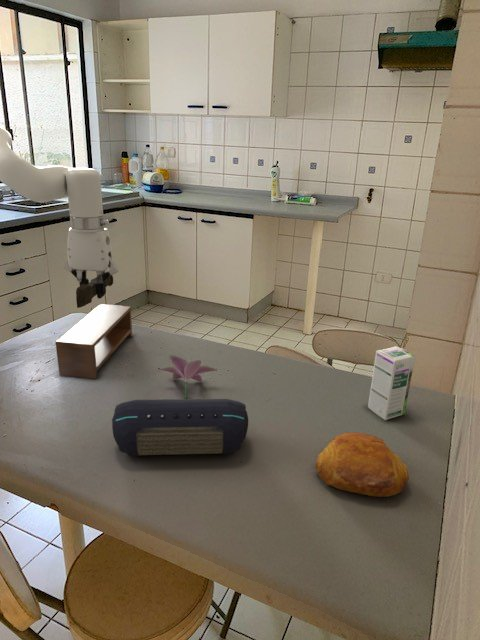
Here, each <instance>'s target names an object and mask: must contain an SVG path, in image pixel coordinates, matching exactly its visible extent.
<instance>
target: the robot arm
mask: <svg viewBox="0 0 480 640" xmlns="http://www.w3.org/2000/svg"><path fill="white" fill-rule="evenodd" d="M12 145H13V137H12V135H11V133H10V132H9V131H8V130H6V129H5V128H4V127H2V126H0V182H1V183H2V184H4V185H5V186H6V187H8V188H9V189H11V190H12V191H14V192H15V193H17V194H19V195H20V196H22V197H24V198H25V199H27V200H29V201H31V202H34V203H40V204H41V203H42V204H44V203H48V202H52V201H55V200H61V199H64V198H67V200H68V211H69V221H70V227H69V228H68V232H67V247H66V251H67V260H66V263H65V264H64V268H63V269H64V270H65V271H67V272H69V273H70V274H72V276H74V277H75V279H76V281H77V282H78V284H79V287H80V286H81V285H82V284H88V283H90V280H89V278H87V271H90V272H95V274H96V277H97V278H98V283H97V284H96V288H97V295H96V297H97V299H99V300H100V299H102V298H103V297H104V296H105V295H106V292H107V287H106V285H105V281H106V280H107V279H108V278H109V277H110V276H111V275H112V276H113V275H115V274H117V273H118V272H119V268H118V267H117V265H116V264H115V258H114V251H113V244H112V240H111V236H110V233H109V229H108V228H107V227H106V226H109V225H110V220H109V219H106V218H105V215H104V206H103V205H104V204H103V193H102V192H103V191H102V180H101V173H100V171H98V170H97V169H95V168H89V167H69V166H65V165H64V166H63V165H58V164H57V165H55V164H54V165H53V164H52V165H45V166H36V165H34V164H32V163H31V162H29V161H28V160H26V159H25V158H23V157H22V156H20V155H19V154H17V152H15V151H14V149H12ZM108 269H109V270H108ZM107 270H108V271H107Z"/></svg>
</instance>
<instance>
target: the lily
mask: <svg viewBox="0 0 480 640" xmlns="http://www.w3.org/2000/svg"><path fill="white" fill-rule="evenodd" d="M168 357H169V360H170V363H171V365H172V366H167V367H161V368H159V371H163V372H167V373H171V374H172V379H173V380H176V381H177V380H180V379H183V380H185V381H184V399H187V382H188V380H189V379H191V380H194V381H197V382H199V383H202V382H203V378H202V376H201V374H205V373H210V372H216V371H218V368H215V367H213V366H208V365H202V360H201V359H197V360H192V361H187V360H186V359H185V358H182V357H180V356H177V355H175V354H174V355H173V354H169V356H168Z"/></svg>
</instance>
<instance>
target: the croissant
mask: <svg viewBox="0 0 480 640" xmlns="http://www.w3.org/2000/svg"><path fill="white" fill-rule="evenodd" d="M314 466H315V467H314V468H315V470H316V471H317V473H318V476H319V478H320V479H321V481H323V482H324V483H325V484H326V485H327V486H330V487H333V488H336V489H338V490H342V491H346V492H349V493H353V494H360V495H365V496H369V497H377V498H378V497H379V498H381V497H386V498H387V497H391V496H396V495H397V494H399V493H401V492H402V491H403V490H404V487H405V485H407V484H408V481H409V479H410V478H409V477H410V476H409V471H408V468H407V464H405V463H404V462H403V461H402V459H401V457H400V456H399V455H398V454H396V453H394V452H393V451H392V449H391V448H390V447H389V445H387V444H386V443H385V442H384V439H383V438H380V437H378V436H375V435H374V434H373V435H372V434H369V433H365V432H357V431H356V432H355V431H352V432H351V431H350V432H344V433H342V434H339V435H336V436H334V438H333V439H332V440H330V441H329V442H328V443H327V446H326V447H324V448H323V450H322V451H321V452H320V453H318V455H317V461H316V462H315V465H314Z"/></svg>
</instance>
